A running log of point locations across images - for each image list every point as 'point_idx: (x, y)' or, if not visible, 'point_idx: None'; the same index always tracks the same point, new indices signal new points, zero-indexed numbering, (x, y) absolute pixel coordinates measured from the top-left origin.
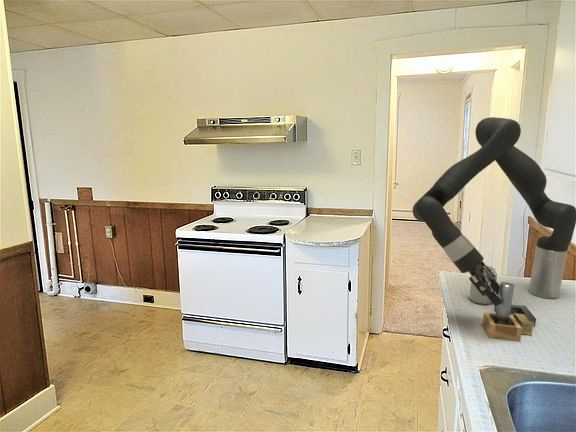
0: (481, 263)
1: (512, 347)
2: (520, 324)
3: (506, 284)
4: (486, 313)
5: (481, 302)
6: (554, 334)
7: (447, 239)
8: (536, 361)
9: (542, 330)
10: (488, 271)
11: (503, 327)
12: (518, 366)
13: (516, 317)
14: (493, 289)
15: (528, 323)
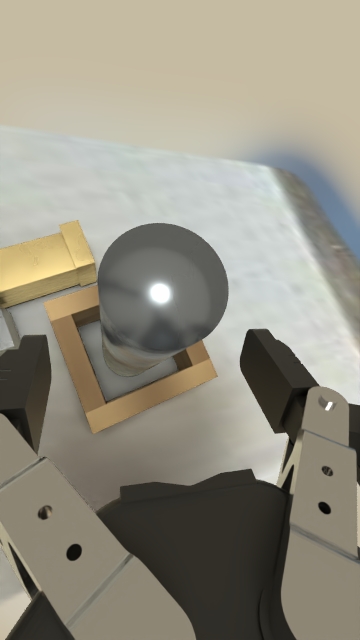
0: None
1: None
2: (80, 274)
3: (173, 290)
4: (99, 418)
5: None
6: (19, 174)
7: None
8: (257, 238)
9: (6, 209)
10: (50, 556)
11: None
12: (316, 282)
13: (11, 291)
14: (43, 415)
15: (85, 240)
